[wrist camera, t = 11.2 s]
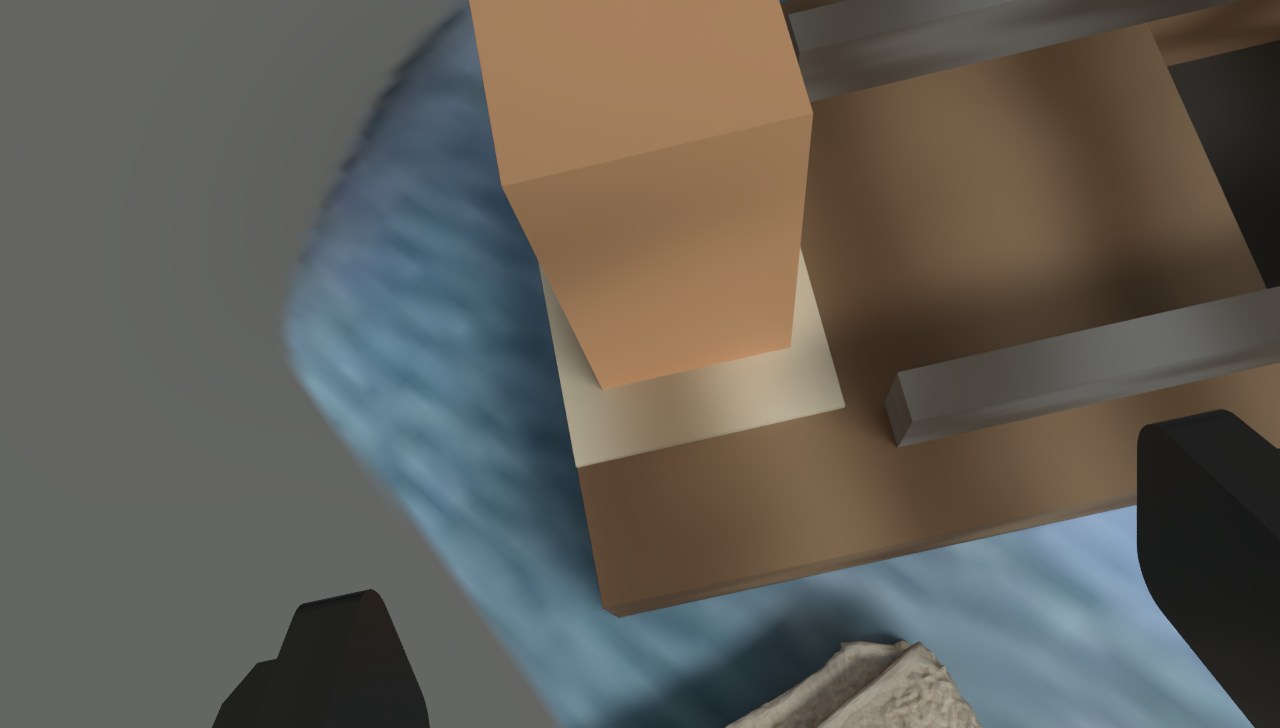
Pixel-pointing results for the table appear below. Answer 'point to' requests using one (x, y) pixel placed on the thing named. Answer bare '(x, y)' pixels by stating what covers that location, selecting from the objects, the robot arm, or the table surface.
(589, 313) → the block
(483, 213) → the table surface
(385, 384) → the table surface
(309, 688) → the robot arm
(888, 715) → the washcloth
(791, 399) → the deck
